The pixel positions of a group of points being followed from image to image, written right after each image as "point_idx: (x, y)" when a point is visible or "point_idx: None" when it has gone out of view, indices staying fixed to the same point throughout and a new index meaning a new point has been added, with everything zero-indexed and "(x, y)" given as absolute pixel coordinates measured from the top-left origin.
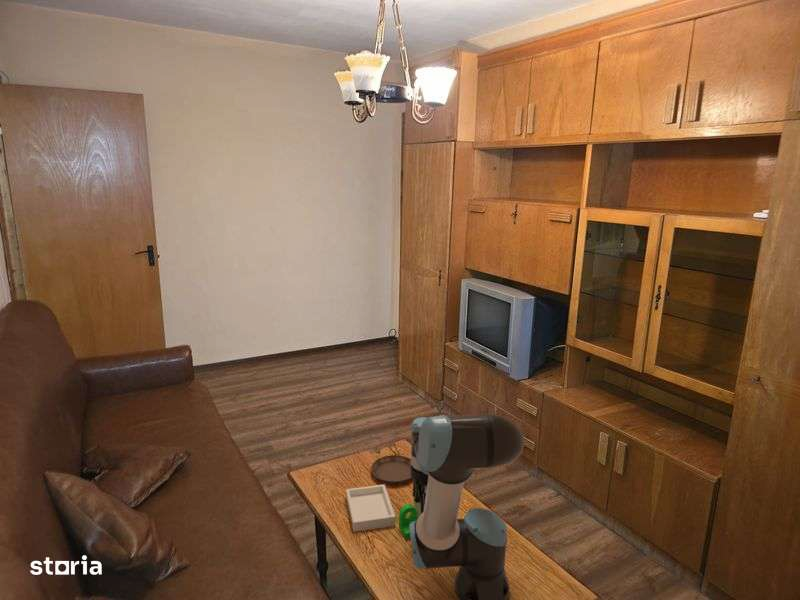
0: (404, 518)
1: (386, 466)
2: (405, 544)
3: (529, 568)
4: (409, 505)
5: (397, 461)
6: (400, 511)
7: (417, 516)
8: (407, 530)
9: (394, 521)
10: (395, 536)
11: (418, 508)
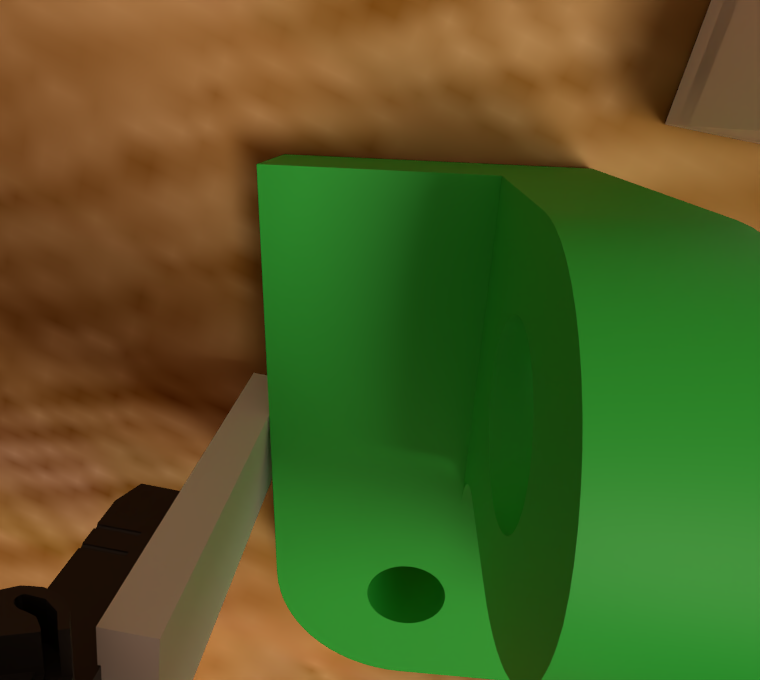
0: (520, 287)
1: None
2: (181, 96)
3: None
4: (702, 676)
5: None
6: (735, 268)
7: None
8: (331, 230)
9: (716, 107)
10: (416, 5)
11: None
